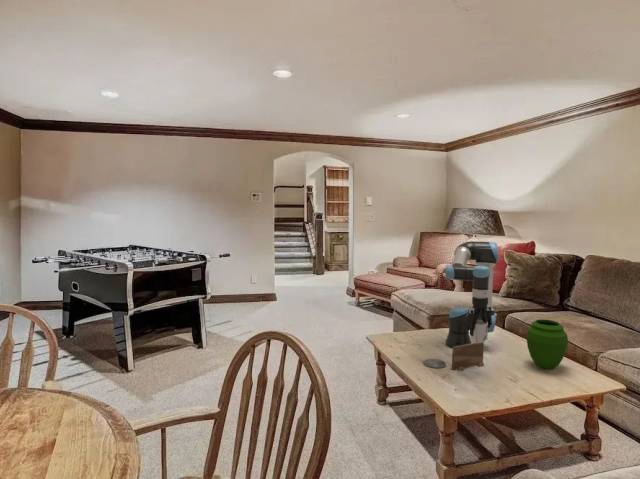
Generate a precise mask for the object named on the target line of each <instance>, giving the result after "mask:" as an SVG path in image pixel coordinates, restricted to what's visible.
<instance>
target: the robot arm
mask: <svg viewBox="0 0 640 479" xmlns="http://www.w3.org/2000/svg"><path fill="white" fill-rule="evenodd" d="M453 255H454V257H453V260H452V263H451V264H450V265H446V266H445V270H444V277H445V279H446V280H455V281H467V282H469V281H470V282H471V281H472V294H471V295H472V296H471V297H472V298H471V303H472V305H473V306H472V308H470V307H465V306H458V307H457V306H456V307H453V308H451V309H450V310H449V316H448V318H449V319H448V320H449V322H448V324H449V325H448V334H447V336H446V340H445V345H446V346H447V347H449V348H451V349H452V347H455V346H460V345H465V344H470V343H475V335H476V330H474V329H475V326H476V325H475V324H476V323H477V320H483V322H484V323H486V322H488V327H487V334H486V338H485V341H488V338H489V337H488V335H489V333H493V332H494V331H495V327H496V321H497V315H498V313H496V312H495V309H494V308H493V287H494V286H493V285H494V267H495V266H496V265H497V262H499V261H500V257H499V250H498V244H497V242H494V241H474V240H473V241H470V240H469V241H465V242H463V243H461V244H459V245H458V246H457V247H456V248H455V249H454V253H453ZM468 261H475V266H467V264H468Z"/></svg>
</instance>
